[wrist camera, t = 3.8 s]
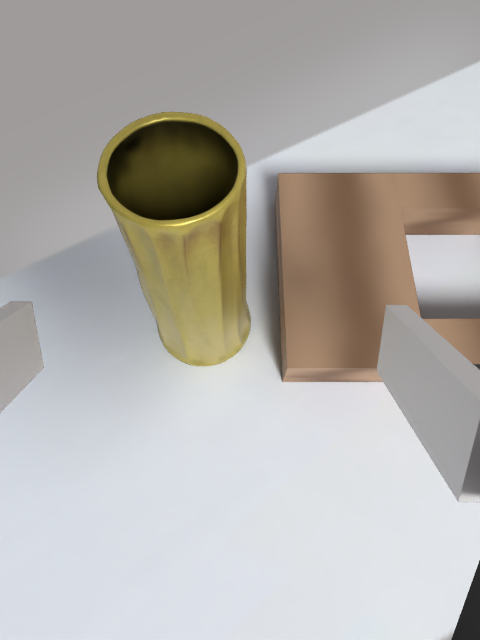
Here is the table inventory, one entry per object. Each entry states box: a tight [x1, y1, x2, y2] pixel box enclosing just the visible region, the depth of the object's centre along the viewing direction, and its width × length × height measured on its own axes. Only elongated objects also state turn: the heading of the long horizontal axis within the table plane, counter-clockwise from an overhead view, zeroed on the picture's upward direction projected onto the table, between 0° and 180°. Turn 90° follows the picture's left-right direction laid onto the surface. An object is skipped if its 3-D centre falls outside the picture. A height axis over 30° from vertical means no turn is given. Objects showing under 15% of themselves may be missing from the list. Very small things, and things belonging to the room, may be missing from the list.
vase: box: [97, 112, 251, 366], centre depth 21 cm, size 6×6×14 cm
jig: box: [275, 173, 480, 382], centre depth 27 cm, size 18×14×3 cm
